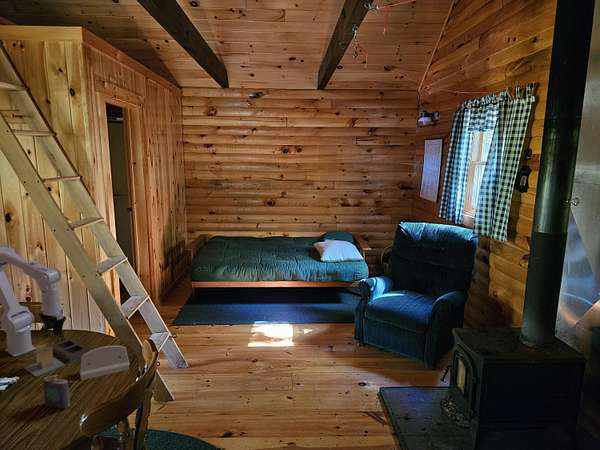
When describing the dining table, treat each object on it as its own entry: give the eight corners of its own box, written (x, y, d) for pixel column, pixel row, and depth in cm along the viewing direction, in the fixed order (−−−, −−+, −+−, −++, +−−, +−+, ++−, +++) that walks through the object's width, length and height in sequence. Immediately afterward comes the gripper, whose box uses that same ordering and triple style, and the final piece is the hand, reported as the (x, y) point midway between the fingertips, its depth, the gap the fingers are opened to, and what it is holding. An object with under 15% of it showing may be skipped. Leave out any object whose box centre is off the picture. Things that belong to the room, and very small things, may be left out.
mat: (24, 368, 144) (24, 367, 144) (53, 357, 152) (52, 356, 152) (35, 377, 138) (35, 376, 138) (65, 365, 147) (64, 364, 147)
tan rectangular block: (37, 366, 145) (35, 346, 144) (49, 361, 148) (47, 342, 147) (42, 369, 143) (40, 349, 141) (53, 364, 146) (51, 345, 145)
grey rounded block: (79, 380, 137) (77, 352, 138) (80, 378, 141) (78, 350, 142) (130, 369, 145) (127, 342, 146) (129, 367, 149) (127, 341, 150)
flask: (72, 405, 123) (69, 375, 121) (64, 410, 120) (61, 380, 119) (49, 400, 126) (46, 370, 124) (41, 405, 123) (38, 375, 121)
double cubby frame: (51, 350, 157) (50, 345, 157) (71, 343, 164) (70, 338, 164) (69, 362, 149) (69, 356, 148) (90, 354, 155) (90, 348, 155)
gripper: (70, 300, 149) (72, 333, 151) (53, 293, 157) (56, 323, 159) (50, 306, 143) (53, 339, 145) (34, 297, 151) (37, 329, 153)
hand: (53, 331), depth 152 cm, fingers open, 7 cm apart
